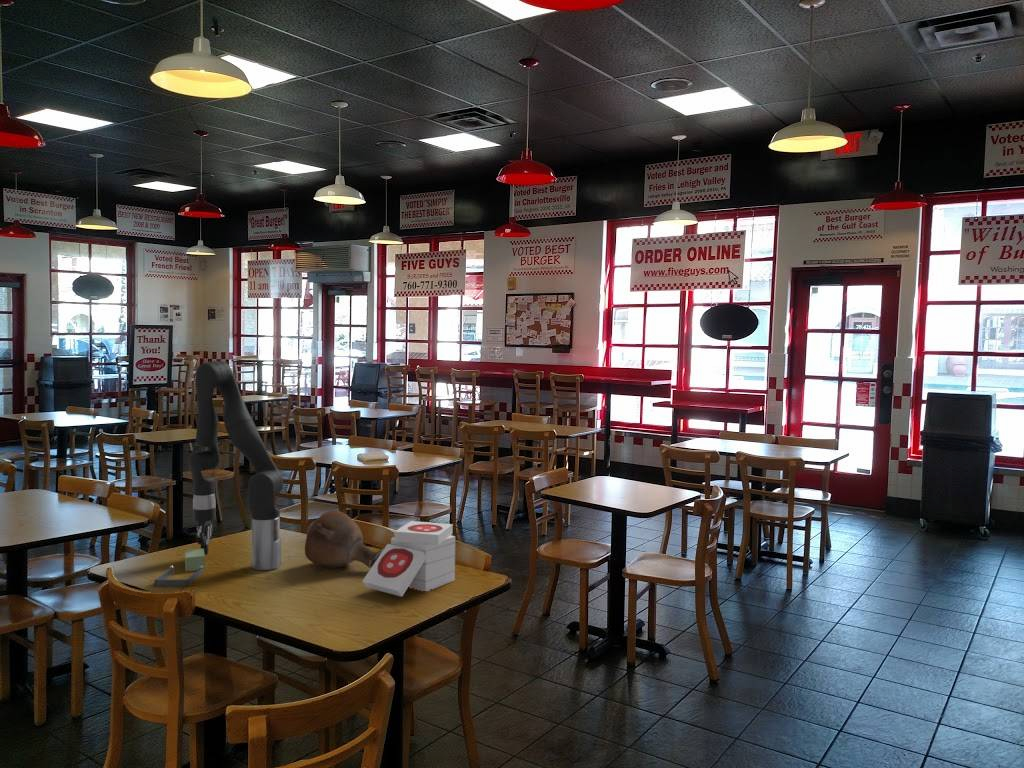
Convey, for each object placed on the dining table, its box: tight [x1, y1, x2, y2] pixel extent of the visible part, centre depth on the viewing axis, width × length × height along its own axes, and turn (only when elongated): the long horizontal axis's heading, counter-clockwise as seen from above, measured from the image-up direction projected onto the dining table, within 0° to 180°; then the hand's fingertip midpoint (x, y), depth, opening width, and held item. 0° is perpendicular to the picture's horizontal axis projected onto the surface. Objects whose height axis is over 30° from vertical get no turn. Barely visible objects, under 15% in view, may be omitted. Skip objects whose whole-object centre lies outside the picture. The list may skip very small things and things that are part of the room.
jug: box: [304, 509, 384, 569], centre depth 266 cm, size 20×20×30 cm
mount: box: [154, 565, 204, 587], centre depth 250 cm, size 11×14×3 cm
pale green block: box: [184, 548, 206, 573], centre depth 265 cm, size 6×10×5 cm, turn 24°
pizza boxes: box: [361, 520, 456, 597], centre depth 248 cm, size 19×30×18 cm, turn 146°
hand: (204, 554), depth 274 cm, fingers closed
